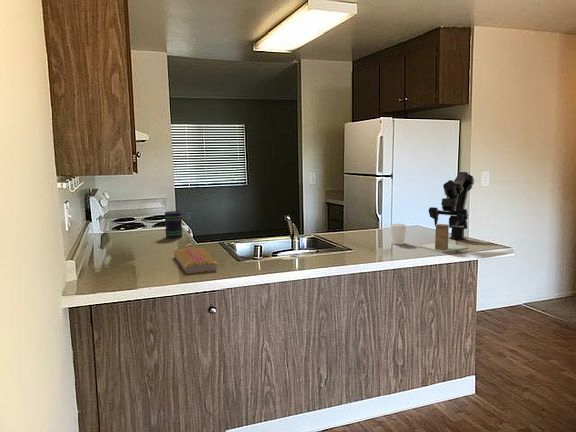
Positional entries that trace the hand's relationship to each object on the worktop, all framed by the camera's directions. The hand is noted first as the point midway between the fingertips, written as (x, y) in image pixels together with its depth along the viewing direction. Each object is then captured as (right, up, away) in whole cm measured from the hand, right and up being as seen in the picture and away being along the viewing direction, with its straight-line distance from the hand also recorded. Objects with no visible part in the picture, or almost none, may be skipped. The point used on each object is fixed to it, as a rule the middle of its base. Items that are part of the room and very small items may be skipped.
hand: (444, 226), depth 234 cm
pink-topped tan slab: (-121, -17, -23) cm, 125 cm away
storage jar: (-146, -8, +42) cm, 152 cm away
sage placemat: (0, -11, +4) cm, 11 cm away
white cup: (-20, -10, +16) cm, 27 cm away
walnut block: (-2, -11, -2) cm, 12 cm away
